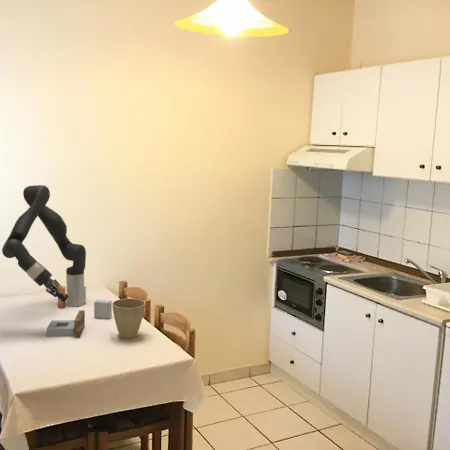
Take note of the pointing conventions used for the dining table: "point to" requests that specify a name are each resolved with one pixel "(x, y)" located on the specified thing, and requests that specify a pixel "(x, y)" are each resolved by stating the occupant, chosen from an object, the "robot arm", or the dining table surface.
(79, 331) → the backstop wall
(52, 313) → the dining table surface
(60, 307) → the dowel
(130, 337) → the plant pot
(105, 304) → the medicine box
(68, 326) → the pocket block
